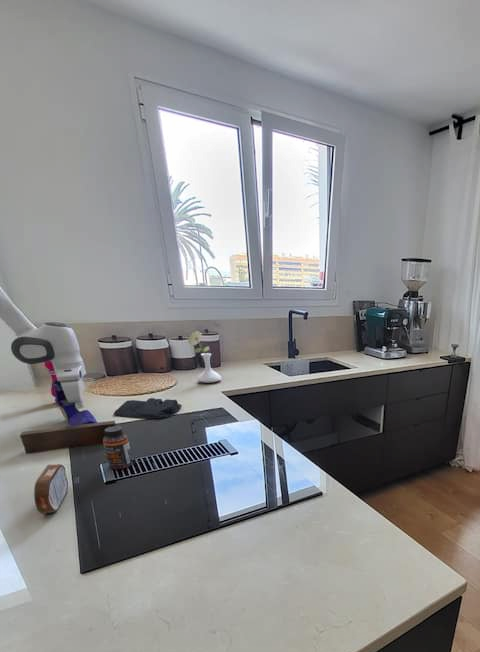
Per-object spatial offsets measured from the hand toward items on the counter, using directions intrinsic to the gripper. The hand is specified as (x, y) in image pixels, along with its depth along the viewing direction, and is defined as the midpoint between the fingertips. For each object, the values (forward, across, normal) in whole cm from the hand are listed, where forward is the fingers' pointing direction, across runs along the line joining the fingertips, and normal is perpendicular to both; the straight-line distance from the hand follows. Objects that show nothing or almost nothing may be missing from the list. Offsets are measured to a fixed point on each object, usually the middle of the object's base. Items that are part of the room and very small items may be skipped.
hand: (81, 407), depth 144 cm
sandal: (+4, +8, 0) cm, 9 cm away
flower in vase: (+4, -36, +50) cm, 62 cm away
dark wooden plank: (+4, +28, 0) cm, 28 cm away
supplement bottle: (+4, +50, +12) cm, 52 cm away
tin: (+4, +65, -1) cm, 65 cm away
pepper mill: (+4, -24, -8) cm, 26 cm away
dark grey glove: (+4, +2, +22) cm, 22 cm away
